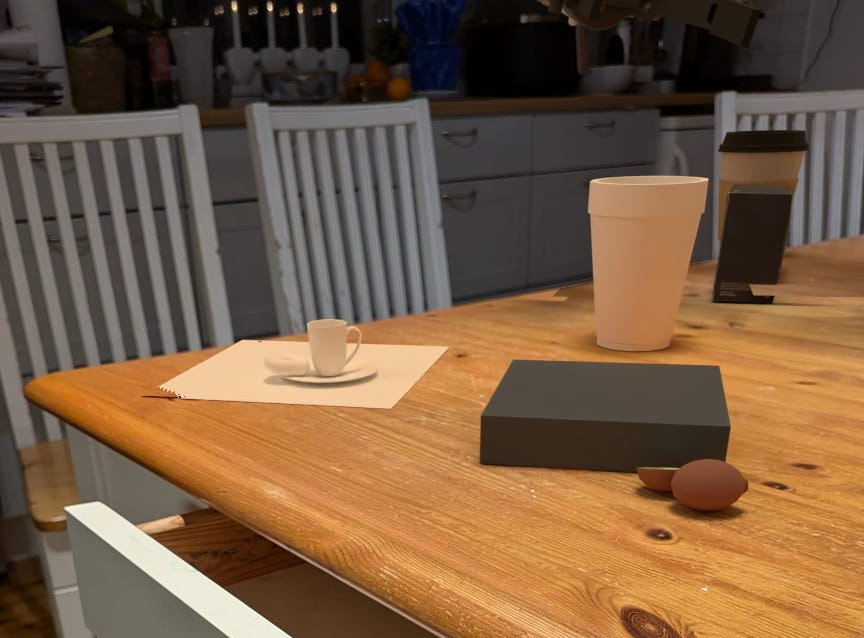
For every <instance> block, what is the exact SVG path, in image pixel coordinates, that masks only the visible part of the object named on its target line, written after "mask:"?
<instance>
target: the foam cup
mask: <svg viewBox="0 0 864 638" xmlns="http://www.w3.org/2000/svg"><path fill="white" fill-rule="evenodd" d="M708 185H709V178H707V177H701V176H685V175H635V176H633V175H632V176H631V175H630V176H629V175H628V176H614V177H603V178H595V179H594V178H593V179H592V180H590V181H589V190H588V191H589V192H588V205H587V214H589V215H590V234H591V235H590V236H591V237H590V238H591V256H592V278H593V280H592V281H593V298H594V299H593V301H594V319H595V321H594V322H595V323H594V324H595V337H596V345H598V346H600V347H601V348H605V349H608V350H613V351H623V352H651V351H659V350H663V349H666V348H669V347H670V343H671V339H672V337H673V332H674V329H675V324H676V320H677V316H678V313H679V309H680V304H681V299H682V295H683V291H684V287H685V283H686V281H687V276H688V272H689V267H690V263H691V259H692V255H693V250H694V247H695V242H696V238H697V235H698V234H697V233H698V230H699V227H700V221H701V218H702V214H704V213H705V211H706V210H705V209H706V202H707V194H708Z"/></svg>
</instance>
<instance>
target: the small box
mask: <svg viewBox="0 0 864 638" xmlns="http://www.w3.org/2000/svg"><path fill="white" fill-rule="evenodd" d="M792 205H793V202H792V186H780V185H756V184H734V185H733V186H732V188H731V189H730V190H729V192H728V194H727V200H726V207H725V215H724V222H723V229H722V236H721V241H720V250H719V249H718V258H717V264H716V270H715V276H714V281H713V286H712V287H713V288H712V294H711V298H710V299H711V301H713V302H715V301H718V302H719V301H721V302H742V303H743V302H745V303H766V304H773V303H774V300H775V295H773V294H772V295H766V294H764V295H762V294H761V295H760V294H754V293H753V290H752V288H751V286H750V285H753V286H755V285H756V286H776V285H778V284H779V281H780V276H781V272H782V267H783V263H784V257H785V251H786V247H787V246H786V245H787V241H788V235H789V230H790V223H791V217H792Z"/></svg>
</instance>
